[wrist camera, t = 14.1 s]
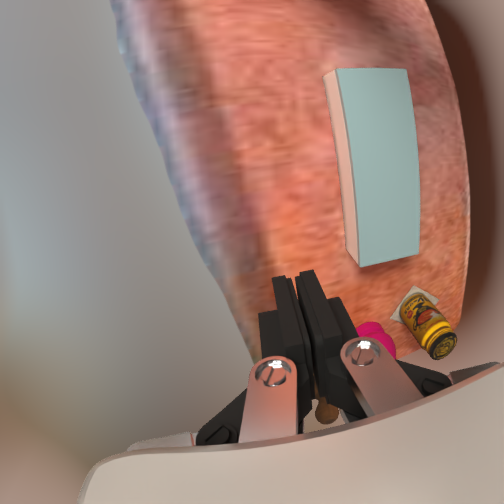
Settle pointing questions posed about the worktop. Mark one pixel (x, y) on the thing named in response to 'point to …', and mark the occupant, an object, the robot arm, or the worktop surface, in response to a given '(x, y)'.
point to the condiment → (426, 323)
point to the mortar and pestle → (325, 409)
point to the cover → (382, 161)
